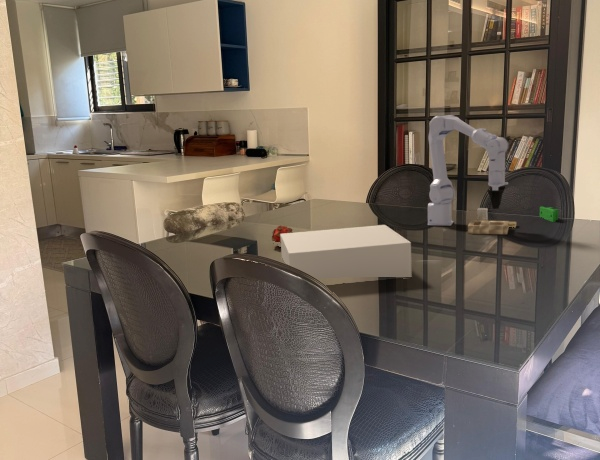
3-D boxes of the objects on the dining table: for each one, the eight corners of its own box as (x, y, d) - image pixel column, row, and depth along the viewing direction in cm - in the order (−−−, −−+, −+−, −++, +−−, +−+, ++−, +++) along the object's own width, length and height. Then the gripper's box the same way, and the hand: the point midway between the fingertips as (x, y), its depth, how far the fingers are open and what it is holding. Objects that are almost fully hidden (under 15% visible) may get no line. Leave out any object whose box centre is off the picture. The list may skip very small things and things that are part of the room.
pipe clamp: (561, 221, 225) (562, 210, 224) (552, 222, 225) (553, 211, 224) (548, 216, 236) (548, 205, 235) (539, 217, 236) (539, 206, 235)
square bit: (477, 227, 224) (477, 209, 223) (478, 225, 228) (478, 208, 226) (486, 227, 223) (486, 209, 222) (487, 225, 226) (487, 208, 225)
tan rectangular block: (499, 228, 221) (499, 223, 221) (499, 226, 225) (500, 221, 224) (515, 228, 219) (515, 223, 218) (516, 226, 222) (516, 221, 222)
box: (282, 265, 186) (280, 233, 184) (385, 256, 190) (384, 224, 188) (291, 290, 160) (289, 253, 157) (411, 279, 163) (410, 242, 161)
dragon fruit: (283, 246, 219) (288, 258, 207) (265, 236, 216) (268, 247, 205) (295, 228, 217) (300, 239, 206) (277, 217, 214) (281, 228, 203)
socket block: (467, 233, 214) (467, 225, 214) (470, 227, 223) (470, 220, 223) (507, 234, 209) (507, 226, 208) (508, 228, 218) (508, 221, 217)
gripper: (507, 172, 202) (506, 210, 205) (509, 168, 215) (508, 203, 218) (486, 173, 205) (486, 210, 208) (489, 168, 218) (489, 203, 221)
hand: (496, 206), depth 213 cm, fingers open, 7 cm apart
